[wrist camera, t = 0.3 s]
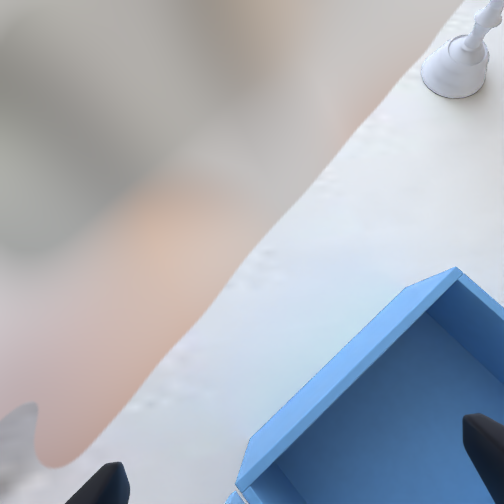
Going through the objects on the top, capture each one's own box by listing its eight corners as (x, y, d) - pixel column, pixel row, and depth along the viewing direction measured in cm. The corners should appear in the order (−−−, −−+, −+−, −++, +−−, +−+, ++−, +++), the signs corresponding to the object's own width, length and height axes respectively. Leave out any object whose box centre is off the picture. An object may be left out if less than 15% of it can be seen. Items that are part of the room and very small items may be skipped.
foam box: (430, 671, 18) (520, 874, 11) (249, 439, 22) (234, 484, 15) (602, 470, 19) (772, 541, 13) (405, 287, 23) (456, 265, 16)
